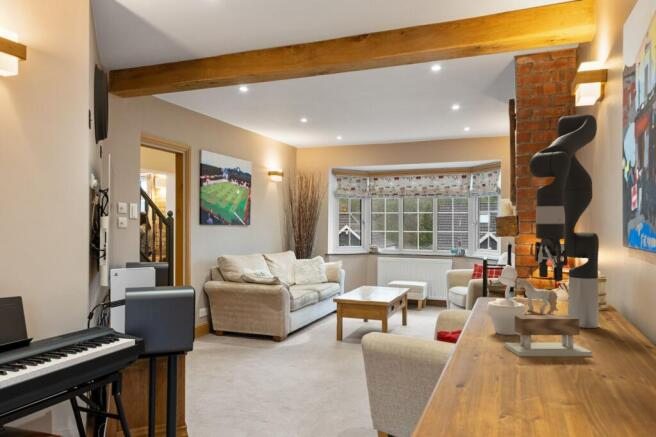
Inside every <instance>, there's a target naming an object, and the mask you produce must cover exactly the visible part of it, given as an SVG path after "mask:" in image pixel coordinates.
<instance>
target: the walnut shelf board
mask: <svg viewBox="0 0 656 437" xmlns="http://www.w3.org/2000/svg"><path fill="white" fill-rule="evenodd" d="M580 328H581V327H580V319H578V318H576V317H573V316H570V315H568V314H567V315H564V314H563V315H562V314H561V315H559V314H558V315H556V314H555V315H552V314H548V315H546V314H544V315H543V314H541V315H540V314H539V315H537V314H536V315H535V314H534V315H533V314H530V315H529V314H525V315H515V331H516V332H517V333H516V334H519V335H520V334H521V335H531V336H562V335H567V336H568V335H573V336H581V334H580V330H581V329H580Z"/></svg>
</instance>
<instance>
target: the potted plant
mask: <svg viewBox="0 0 656 437" xmlns="http://www.w3.org/2000/svg"><path fill="white" fill-rule="evenodd" d="M498 262H499V261H496V265H498V264H499V263H498ZM517 271H518V270H517V269H515V267H514V266H512V265H510V264H505V266H504V267H503V269H502V270H501V275H498V278H497V280H498V281H499V282H500V283H501V284H503V285H505V286H506V287H505V292H504V298H498V297H497V298H496V299H495V300H493V301H488V302H487V304H486V305H487V308H486V310H487V312H486V313H487V316H489V317H490V319H491V323H492V325H493V329H494V332H495V333H497V334H499V335H503V336H514V335H516V334H518V333H517V332H516V331H515V315H526V311H525V310H526V304H524V303H522V302H517V301H516V300H515V299H512V298H510V290H511V288H513V287H515V286H517V284H516V283H515V282H514V281H516V279H517V277H518V272H517ZM493 275H494V276H495V271H494V272H493Z"/></svg>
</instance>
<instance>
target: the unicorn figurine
mask: <svg viewBox="0 0 656 437" xmlns="http://www.w3.org/2000/svg"><path fill="white" fill-rule="evenodd" d="M514 282H515V284H516V290H517V291H518V292H519V291H521V289H522V287H523V288H524V289H525V292H524V293H525V296H526V298H527V300H526V302H527V305H528V309H527V310H526V311H527V312H528V313H529V312H534V305H533V303H532V300H537V301H538V300H540V301H542V303H543V305H542V306H540V309H539V312H540V314H541V315H543V313H544V311H545V310H546V307H547V306H548V304H549V310H548V311H547V312H546V314H548V315H551V314H553V313H554V311H556V312H559V309H558V307H557V305H558V302H557V301H558V293H556V292H555V291H554V290H553V289H552V290H551V289H550V290H549V289H545V288H544V289H543V288H541V289H539V288H536V287H535V286H534V284H533V283H532V282H530V281H529V280H527V279H526V278H519V279H517V278H516V279H515V281H514ZM550 313H551V314H550Z"/></svg>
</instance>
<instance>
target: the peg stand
mask: <svg viewBox="0 0 656 437" xmlns="http://www.w3.org/2000/svg"><path fill="white" fill-rule="evenodd" d="M519 335H520V336H519V338H520V340H519V341H520V342H504V343H503V344H504V345H503V346H504V348H506V349H507V350H508V351H510V352H511V353H513V354H515V355H516V356H518V357H593V354H592V353H593V352H592V350H589V349H587V348H584V347H582V346H580V345H578V344H576V343H574V335H561V342H531V341H532V339H531V337H532V335H521V334H519Z"/></svg>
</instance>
